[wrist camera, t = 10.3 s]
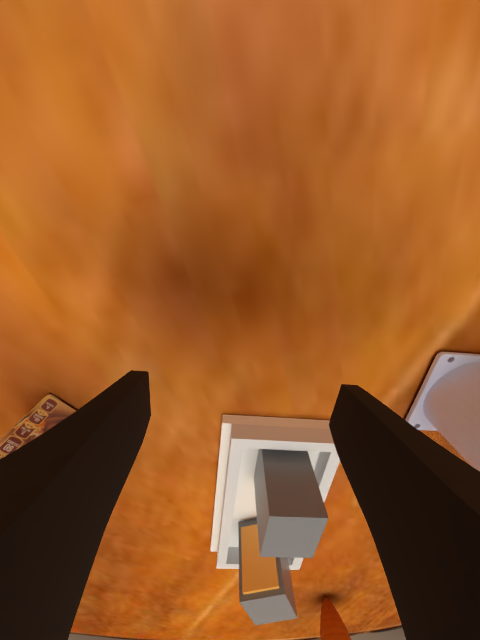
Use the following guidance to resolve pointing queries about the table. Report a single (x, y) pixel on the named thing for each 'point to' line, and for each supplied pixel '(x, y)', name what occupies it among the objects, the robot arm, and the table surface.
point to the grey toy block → (287, 504)
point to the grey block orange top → (263, 580)
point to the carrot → (332, 623)
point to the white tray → (239, 468)
